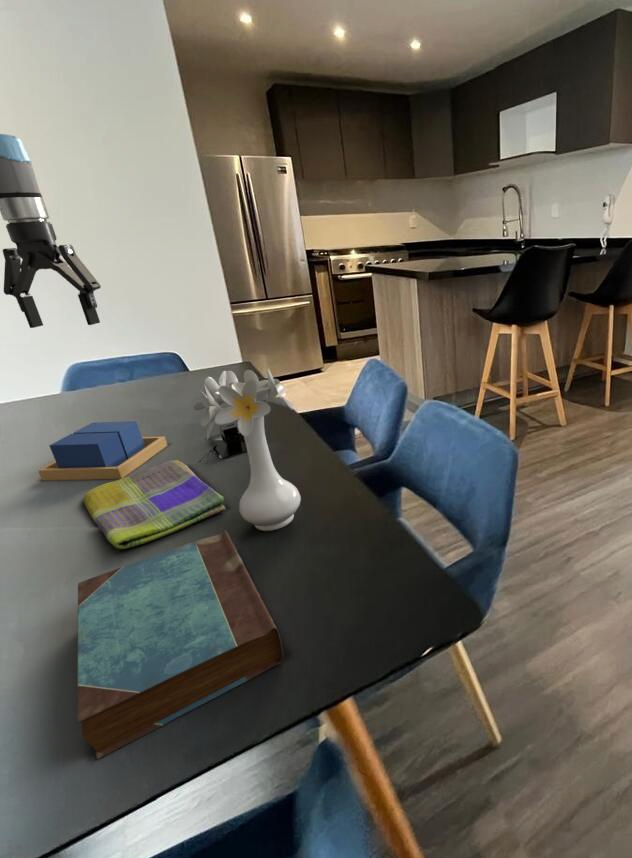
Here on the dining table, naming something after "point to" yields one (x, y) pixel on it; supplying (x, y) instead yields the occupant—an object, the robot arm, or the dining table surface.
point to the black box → (230, 441)
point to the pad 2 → (119, 434)
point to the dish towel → (151, 504)
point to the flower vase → (252, 443)
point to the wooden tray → (119, 472)
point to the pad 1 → (88, 450)
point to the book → (167, 639)
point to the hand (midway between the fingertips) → (65, 325)
